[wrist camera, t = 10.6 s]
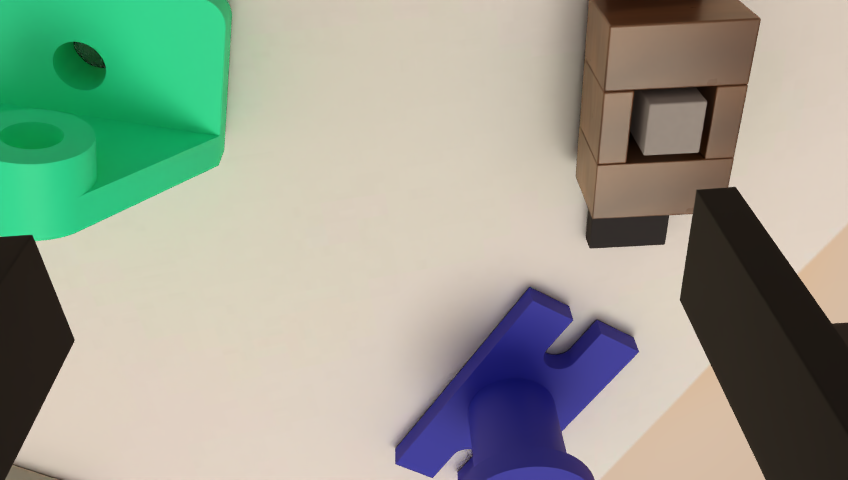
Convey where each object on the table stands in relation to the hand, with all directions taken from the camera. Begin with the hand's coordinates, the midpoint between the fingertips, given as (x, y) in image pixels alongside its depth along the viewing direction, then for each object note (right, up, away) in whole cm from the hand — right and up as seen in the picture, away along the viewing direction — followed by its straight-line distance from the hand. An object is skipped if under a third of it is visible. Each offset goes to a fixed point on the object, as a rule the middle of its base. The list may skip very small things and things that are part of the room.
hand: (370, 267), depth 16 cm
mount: (+6, -9, +33) cm, 35 cm away
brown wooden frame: (+11, +8, +21) cm, 25 cm away
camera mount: (-14, +9, +20) cm, 26 cm away
